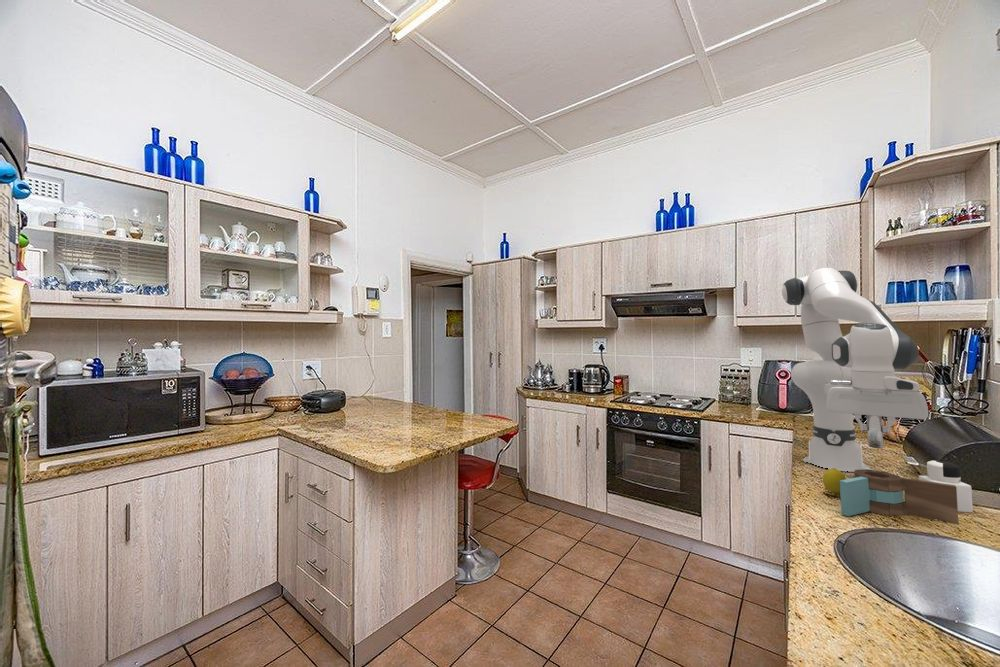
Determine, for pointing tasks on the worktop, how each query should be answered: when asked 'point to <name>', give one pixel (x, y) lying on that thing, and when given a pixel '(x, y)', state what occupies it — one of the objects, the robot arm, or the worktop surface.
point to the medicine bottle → (950, 482)
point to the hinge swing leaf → (863, 496)
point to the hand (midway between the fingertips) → (874, 431)
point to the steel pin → (874, 431)
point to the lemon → (833, 480)
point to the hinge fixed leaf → (913, 496)
